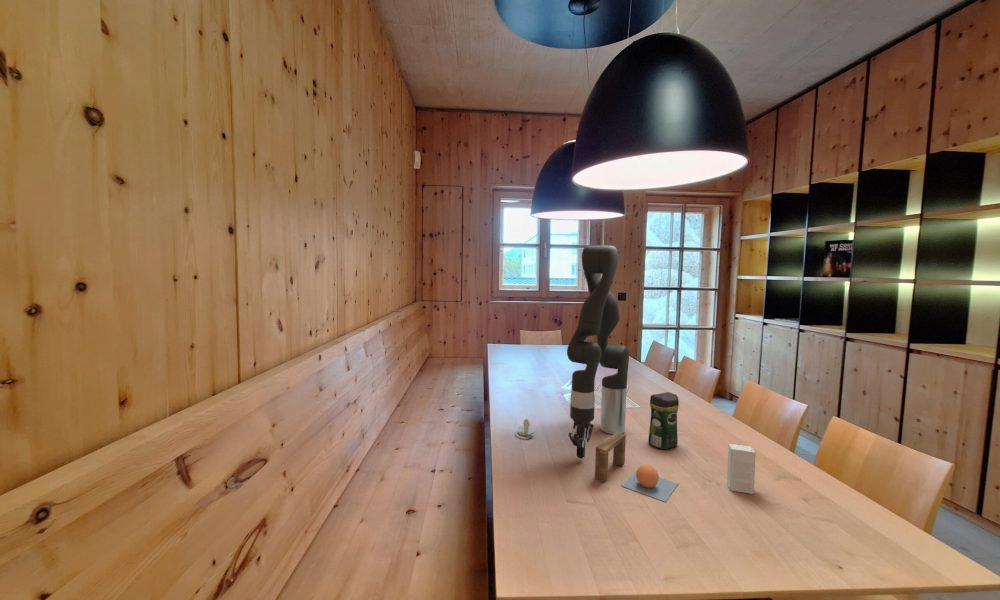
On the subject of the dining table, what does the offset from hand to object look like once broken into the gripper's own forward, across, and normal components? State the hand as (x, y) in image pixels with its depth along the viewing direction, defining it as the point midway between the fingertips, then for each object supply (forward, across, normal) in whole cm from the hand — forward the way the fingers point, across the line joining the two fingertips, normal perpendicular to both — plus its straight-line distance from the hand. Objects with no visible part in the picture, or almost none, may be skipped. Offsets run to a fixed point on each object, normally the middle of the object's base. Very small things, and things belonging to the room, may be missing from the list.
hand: (580, 457), depth 127 cm
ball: (-2, -1, -21) cm, 21 cm away
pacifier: (+2, +5, +26) cm, 26 cm away
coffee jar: (+2, +31, -16) cm, 35 cm away
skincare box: (+2, +15, -42) cm, 45 cm away
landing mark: (+2, 0, -22) cm, 22 cm away
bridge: (+2, 0, -10) cm, 10 cm away
